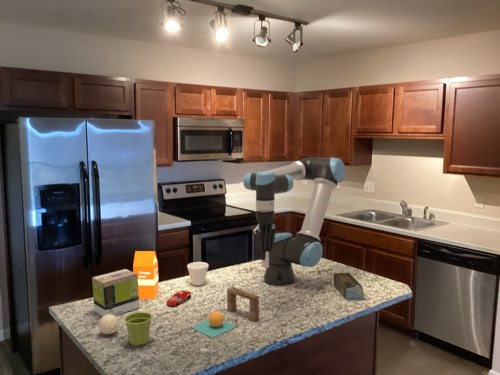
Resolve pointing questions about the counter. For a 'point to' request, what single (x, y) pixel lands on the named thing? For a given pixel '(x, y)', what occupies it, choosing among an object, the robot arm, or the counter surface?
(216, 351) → the counter surface
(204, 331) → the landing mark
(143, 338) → the plant pot
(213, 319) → the ball
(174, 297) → the race car
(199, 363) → the counter surface
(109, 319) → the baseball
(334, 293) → the counter surface
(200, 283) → the cup
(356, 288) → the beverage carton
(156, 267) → the orange juice
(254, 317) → the bridge
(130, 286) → the tea box
